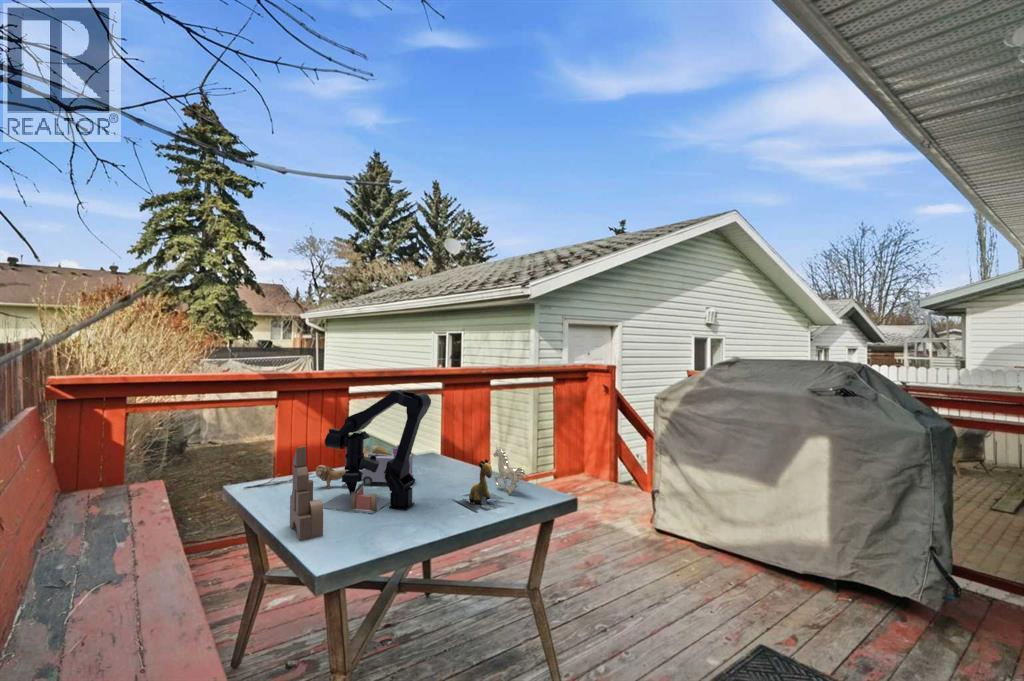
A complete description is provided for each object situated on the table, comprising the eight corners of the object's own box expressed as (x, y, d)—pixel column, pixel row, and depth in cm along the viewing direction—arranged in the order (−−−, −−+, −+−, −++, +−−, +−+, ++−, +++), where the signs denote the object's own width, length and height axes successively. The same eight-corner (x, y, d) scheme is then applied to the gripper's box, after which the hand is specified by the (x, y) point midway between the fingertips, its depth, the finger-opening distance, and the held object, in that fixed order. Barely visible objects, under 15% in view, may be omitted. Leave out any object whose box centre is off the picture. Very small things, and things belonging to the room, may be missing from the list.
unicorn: (529, 499, 177) (530, 451, 177) (521, 501, 175) (521, 452, 175) (497, 485, 193) (498, 441, 193) (489, 487, 191) (489, 443, 191)
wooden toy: (324, 535, 142) (325, 449, 142) (299, 541, 138) (300, 452, 138) (311, 519, 155) (312, 440, 154) (288, 523, 151) (289, 442, 151)
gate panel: (356, 505, 166) (356, 493, 166) (352, 505, 166) (352, 493, 166) (363, 496, 176) (363, 484, 176) (359, 496, 176) (359, 484, 175)
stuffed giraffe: (476, 513, 162) (477, 464, 163) (449, 500, 177) (450, 455, 177) (514, 506, 172) (516, 459, 172) (486, 494, 186) (487, 451, 187)
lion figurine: (314, 491, 183) (315, 467, 183) (316, 487, 188) (316, 463, 188) (356, 488, 187) (356, 464, 187) (356, 484, 192) (356, 461, 192)
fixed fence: (377, 510, 163) (377, 493, 163) (374, 512, 161) (374, 495, 161) (352, 507, 165) (353, 491, 165) (349, 509, 164) (350, 492, 164)
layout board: (395, 499, 174) (395, 498, 174) (372, 514, 160) (372, 513, 160) (342, 494, 180) (342, 493, 180) (316, 507, 165) (316, 506, 165)
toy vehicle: (365, 479, 198) (366, 442, 198) (413, 481, 198) (414, 443, 198) (357, 486, 189) (358, 447, 189) (408, 488, 188) (408, 448, 188)
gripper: (377, 456, 165) (375, 503, 165) (379, 444, 183) (377, 486, 183) (342, 457, 162) (340, 504, 162) (347, 444, 180) (345, 487, 180)
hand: (352, 495), depth 172 cm, fingers closed
